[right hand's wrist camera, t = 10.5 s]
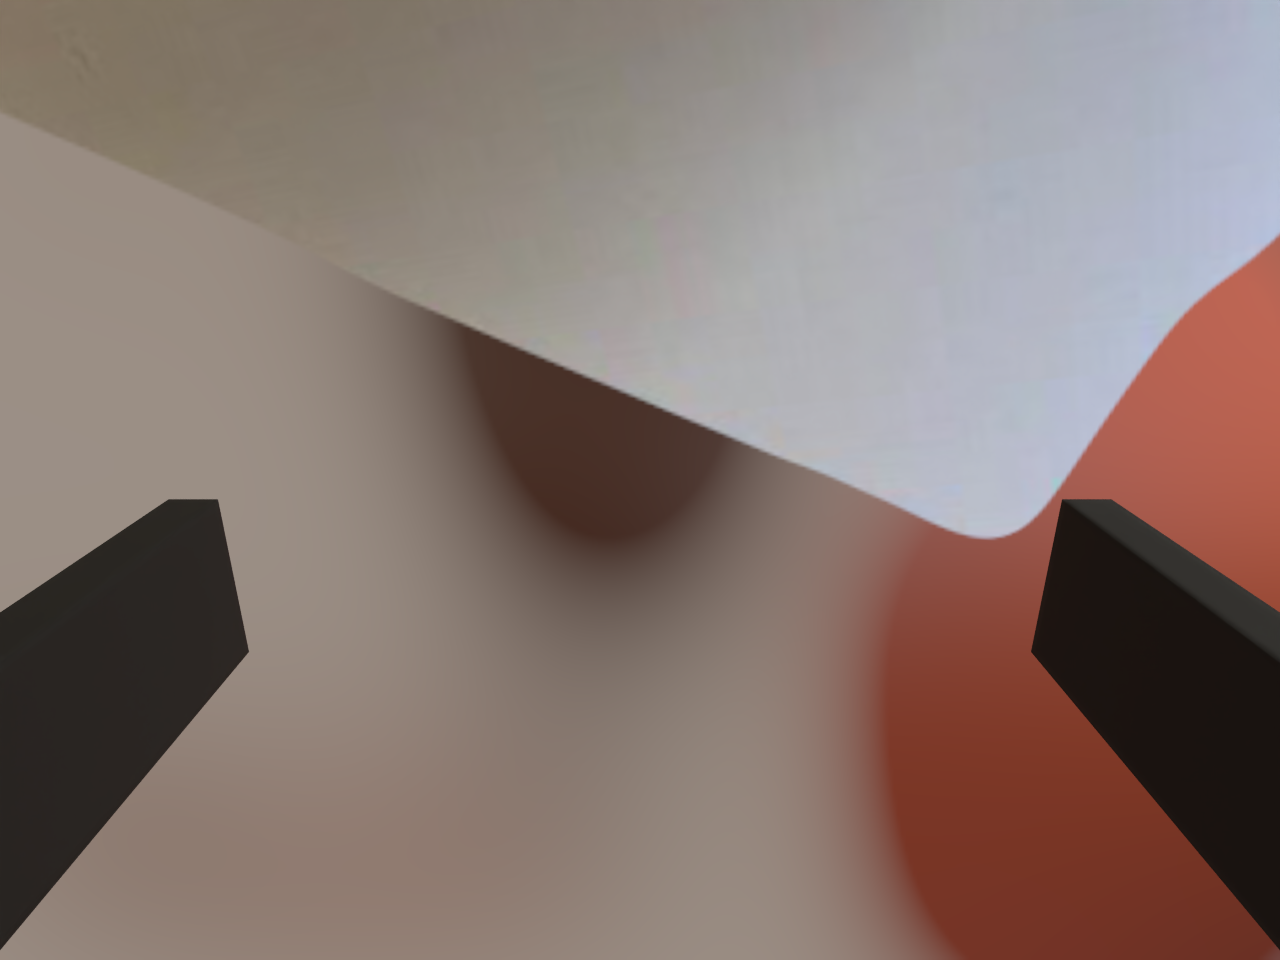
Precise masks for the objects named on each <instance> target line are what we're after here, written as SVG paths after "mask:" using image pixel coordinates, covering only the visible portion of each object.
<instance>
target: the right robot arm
mask: <svg viewBox="0 0 1280 960" xmlns="http://www.w3.org/2000/svg"><path fill="white" fill-rule="evenodd" d="M248 652H249V650H248V645H247V640H246V635H245V631H244V626H243V621H242V616H241V611H240V606H239V601H238V596H237V591H236V586H235V581H234V577H233V571H232V567H231V562H230V557H229V552H228V547H227V542H226V537H225V532H224V527H223V522H222V517H221V512H220V508H219V503H218V500H217V499H213V500H212V499H209V500H208V499H207V500H205V499H199V500H197V499H191V500H189V499H188V500H187V499H180V500H179V499H174V500H172V499H169V500H167V501H166V502H164V503H163V504H161V505H160V506H158V507H157V508H155V509H154V510H152V511H151V512H149V513H148V514H146V515H145V516H143V517H142V518H140V519H139V520H137V521H136V522H134V523H133V524H131V525H130V526H128V527H127V528H126V529H124V530H122V531H121V532H120V533H118V534H116V535H115V536H114V537H112V538H110V539H109V540H108V541H106V542H105V543H103V544H102V545H100V546H99V547H97V548H96V549H94V550H93V551H91V552H90V553H88V554H87V555H85V556H84V557H82V558H81V559H79V560H78V561H76V562H75V563H73V564H72V565H70V566H69V567H67V568H66V569H64V570H63V571H61V572H60V573H58V574H57V575H55V576H54V577H52V578H51V579H49V580H48V581H47V582H45V583H44V584H42V585H41V586H39V587H38V588H36V589H35V590H33V591H32V592H30V593H29V594H27V595H26V596H24V597H23V598H21V599H20V600H18V601H17V602H15V603H14V604H12V605H11V606H9V607H8V608H6V609H5V610H3V611H2V612H0V950H1V948H2V947H3V946H4V945H5V944H6V942H7V941H8V940H9V939H10V938H11V936H12V935H13V934H14V933H15V932H16V930H17V929H18V928H19V927H20V926H21V924H22V923H23V922H24V921H25V920H26V918H27V917H28V916H29V915H30V914H31V912H32V911H33V910H34V909H35V908H36V906H37V905H38V904H39V903H40V902H41V900H42V899H43V898H44V897H45V896H46V894H47V893H48V892H49V891H50V890H51V888H52V887H53V886H54V885H55V884H56V882H57V881H58V880H59V879H60V878H61V876H62V875H63V874H64V873H65V872H66V870H67V869H68V868H69V867H70V866H71V864H72V863H73V862H74V861H75V860H76V858H77V857H78V856H79V855H80V854H81V852H82V851H83V850H84V849H85V848H86V846H87V845H88V844H89V843H90V842H91V840H92V839H93V838H94V837H95V836H96V834H97V833H98V832H99V831H100V830H101V829H102V827H103V826H104V825H105V824H106V823H107V821H108V820H109V819H110V818H111V817H112V815H113V814H114V813H115V812H116V811H117V809H118V808H119V807H120V806H121V804H122V803H123V802H124V801H125V800H126V799H127V797H128V796H129V795H130V794H131V793H132V791H133V790H134V789H135V788H136V787H137V785H138V784H139V783H140V782H141V781H142V779H143V778H144V777H145V776H146V775H147V773H148V772H149V771H150V770H151V769H152V767H153V766H154V765H155V764H156V763H157V761H158V760H159V759H160V758H161V757H162V755H163V754H164V753H165V752H166V751H167V749H168V748H169V747H170V746H171V745H172V743H173V742H174V741H175V740H176V739H177V737H178V736H179V735H180V734H181V733H182V731H183V730H184V729H185V728H186V727H187V725H188V724H189V723H190V722H191V721H192V719H193V718H194V717H195V716H196V715H197V713H198V712H199V711H200V710H201V709H202V707H203V706H204V705H205V704H206V703H207V701H208V700H209V699H210V698H211V697H212V695H213V694H214V693H215V692H216V691H217V689H218V688H219V687H220V686H221V685H222V683H223V682H224V681H225V680H226V678H227V677H228V676H229V675H230V674H231V673H232V671H233V670H234V669H235V668H236V667H237V665H238V664H239V663H240V662H241V661H242V659H243V658H244V657H245V656H246V655H247V653H248ZM1031 652H1032V653H1033V655H1034V656H1035V657H1036V658H1037V659H1038V661H1039V662H1040V663H1041V664H1042V665H1043V667H1044V668H1045V669H1046V670H1047V671H1048V673H1049V674H1050V675H1051V676H1052V677H1053V679H1054V680H1055V681H1056V682H1057V683H1058V685H1059V686H1060V687H1061V688H1062V689H1063V691H1064V692H1065V693H1066V694H1067V695H1068V697H1069V698H1070V699H1071V700H1072V701H1073V703H1074V704H1075V705H1076V706H1077V707H1078V709H1079V710H1080V711H1081V712H1082V713H1083V715H1084V716H1085V717H1086V718H1087V719H1088V721H1089V722H1090V723H1091V724H1092V725H1093V727H1094V728H1095V729H1096V730H1097V731H1098V733H1099V734H1100V735H1101V736H1102V737H1103V739H1104V740H1105V741H1106V742H1107V743H1108V745H1109V746H1110V747H1111V748H1112V749H1113V751H1114V752H1115V753H1116V754H1117V755H1118V757H1119V758H1120V759H1121V760H1122V761H1123V763H1124V764H1125V765H1126V766H1127V767H1128V769H1129V770H1130V771H1131V772H1132V773H1133V775H1134V776H1135V777H1136V778H1137V779H1138V781H1139V782H1140V783H1141V784H1142V785H1143V787H1144V788H1145V789H1146V790H1147V791H1148V793H1149V794H1150V795H1151V796H1152V797H1153V799H1154V800H1155V801H1156V802H1157V803H1158V805H1159V806H1160V807H1161V808H1162V809H1163V810H1164V812H1165V813H1166V814H1167V815H1168V817H1169V818H1170V819H1171V820H1172V821H1173V823H1174V824H1175V825H1176V826H1177V827H1178V829H1179V830H1180V831H1181V832H1182V833H1183V835H1184V836H1185V837H1186V838H1187V839H1188V841H1189V842H1190V843H1191V844H1192V845H1193V846H1194V848H1195V849H1196V850H1197V851H1198V852H1199V854H1200V855H1201V856H1202V857H1203V858H1204V860H1205V861H1206V862H1207V863H1208V864H1209V866H1210V867H1211V868H1212V869H1213V870H1214V872H1215V873H1216V874H1217V875H1218V876H1219V878H1220V879H1221V880H1222V881H1223V882H1224V884H1225V885H1226V886H1227V887H1228V888H1229V890H1230V891H1231V892H1232V893H1233V894H1234V896H1235V897H1236V898H1237V899H1238V900H1239V902H1240V903H1241V904H1242V905H1243V906H1244V908H1245V909H1246V910H1247V911H1248V912H1249V914H1250V915H1251V916H1252V917H1253V918H1254V920H1255V921H1256V922H1257V923H1258V924H1259V926H1260V927H1261V928H1262V929H1263V930H1264V932H1265V933H1266V934H1267V935H1268V936H1269V938H1270V939H1271V940H1272V941H1273V942H1274V944H1275V945H1276V946H1277V947H1278V948H1279V950H1280V612H1278V611H1277V610H1275V609H1274V608H1272V607H1271V606H1269V605H1268V604H1266V603H1265V602H1263V601H1262V600H1260V599H1259V598H1257V597H1256V596H1254V595H1253V594H1251V593H1250V592H1248V591H1247V590H1245V589H1244V588H1242V587H1241V586H1239V585H1238V584H1237V583H1235V582H1234V581H1232V580H1231V579H1229V578H1228V577H1226V576H1225V575H1223V574H1222V573H1220V572H1219V571H1217V570H1216V569H1214V568H1213V567H1211V566H1210V565H1208V564H1207V563H1205V562H1204V561H1202V560H1201V559H1199V558H1198V557H1196V556H1195V555H1193V554H1192V553H1190V552H1189V551H1187V550H1186V549H1184V548H1183V547H1181V546H1180V545H1178V544H1177V543H1175V542H1174V541H1172V540H1171V539H1170V538H1168V537H1167V536H1165V535H1164V534H1162V533H1161V532H1159V531H1158V530H1156V529H1155V528H1153V527H1152V526H1150V525H1149V524H1147V523H1146V522H1144V521H1143V520H1141V519H1140V518H1138V517H1137V516H1135V515H1134V514H1132V513H1131V512H1129V511H1128V510H1126V509H1125V508H1123V507H1122V506H1120V505H1119V504H1117V503H1116V502H1114V501H1113V500H1111V499H1110V500H1106V499H1105V500H1104V499H1102V500H1099V499H1097V500H1095V499H1093V500H1091V499H1087V500H1085V499H1083V500H1082V499H1073V500H1072V499H1070V500H1068V499H1063V500H1062V503H1061V508H1060V512H1059V517H1058V522H1057V527H1056V532H1055V537H1054V542H1053V547H1052V552H1051V557H1050V562H1049V566H1048V571H1047V576H1046V581H1045V586H1044V591H1043V596H1042V601H1041V606H1040V611H1039V616H1038V621H1037V626H1036V630H1035V635H1034V640H1033V645H1032V650H1031Z"/></svg>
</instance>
